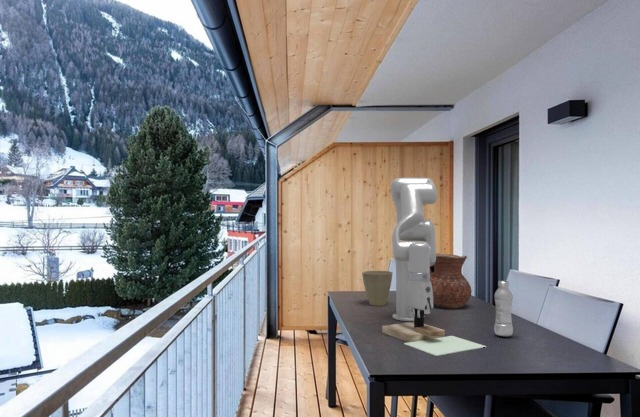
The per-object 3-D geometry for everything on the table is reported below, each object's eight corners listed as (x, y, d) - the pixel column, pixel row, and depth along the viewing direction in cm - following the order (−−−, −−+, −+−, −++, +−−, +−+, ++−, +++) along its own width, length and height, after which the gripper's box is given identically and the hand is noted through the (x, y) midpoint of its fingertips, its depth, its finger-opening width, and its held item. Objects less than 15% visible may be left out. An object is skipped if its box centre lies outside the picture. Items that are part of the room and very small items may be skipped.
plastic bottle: (512, 334, 177) (512, 280, 178) (513, 339, 171) (513, 282, 171) (494, 333, 179) (493, 279, 180) (494, 337, 173) (494, 282, 173)
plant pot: (371, 300, 246) (371, 269, 247) (397, 304, 238) (397, 271, 238) (356, 305, 234) (356, 272, 234) (383, 308, 226) (383, 274, 226)
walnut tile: (428, 329, 174) (428, 325, 174) (443, 335, 167) (443, 331, 167) (415, 331, 171) (415, 327, 171) (429, 337, 164) (429, 332, 164)
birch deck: (415, 327, 188) (415, 321, 188) (444, 337, 173) (444, 330, 174) (382, 332, 180) (382, 325, 180) (409, 342, 166) (409, 335, 166)
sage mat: (451, 336, 174) (451, 335, 174) (486, 347, 160) (486, 346, 160) (403, 344, 164) (403, 343, 164) (436, 356, 150) (436, 355, 150)
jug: (476, 305, 236) (476, 254, 236) (464, 312, 218) (464, 257, 218) (432, 300, 247) (432, 252, 248) (417, 307, 230) (417, 254, 230)
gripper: (441, 278, 169) (441, 331, 169) (413, 274, 182) (413, 322, 182) (424, 280, 166) (424, 333, 165) (398, 275, 179) (397, 324, 178)
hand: (419, 327), depth 174 cm, fingers closed
